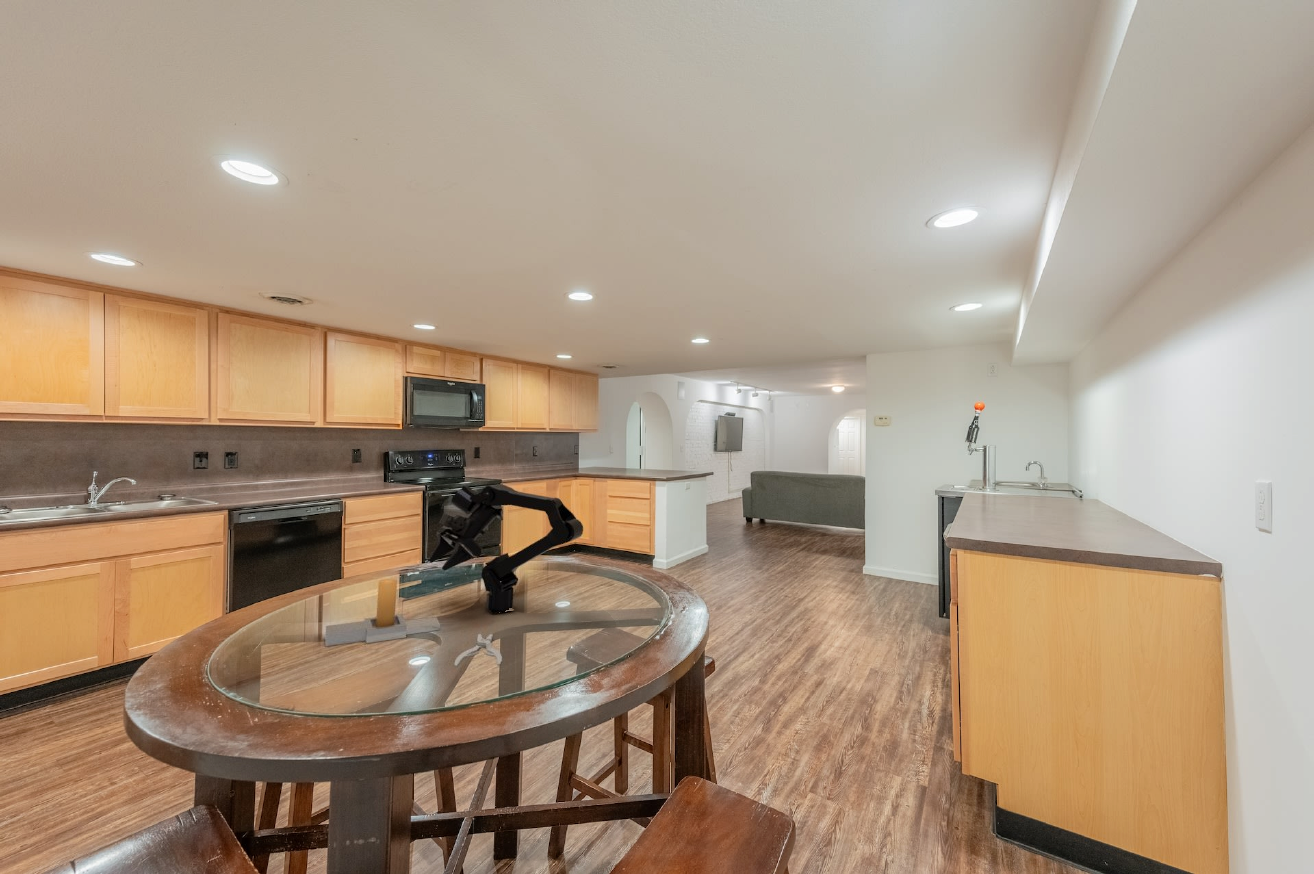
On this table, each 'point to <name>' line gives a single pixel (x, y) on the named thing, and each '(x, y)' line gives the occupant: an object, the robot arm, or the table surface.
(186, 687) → the table surface
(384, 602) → the pin
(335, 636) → the grey peg socket block
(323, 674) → the table surface
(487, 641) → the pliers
